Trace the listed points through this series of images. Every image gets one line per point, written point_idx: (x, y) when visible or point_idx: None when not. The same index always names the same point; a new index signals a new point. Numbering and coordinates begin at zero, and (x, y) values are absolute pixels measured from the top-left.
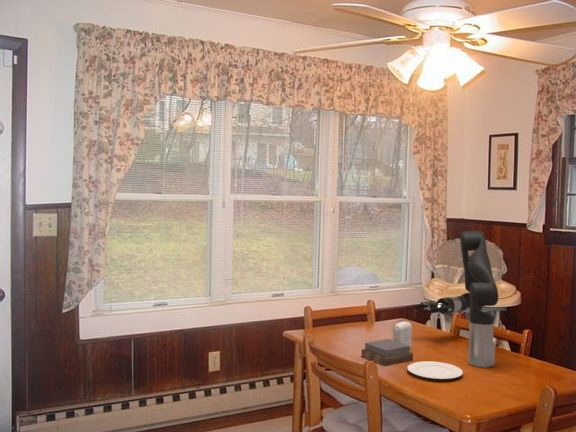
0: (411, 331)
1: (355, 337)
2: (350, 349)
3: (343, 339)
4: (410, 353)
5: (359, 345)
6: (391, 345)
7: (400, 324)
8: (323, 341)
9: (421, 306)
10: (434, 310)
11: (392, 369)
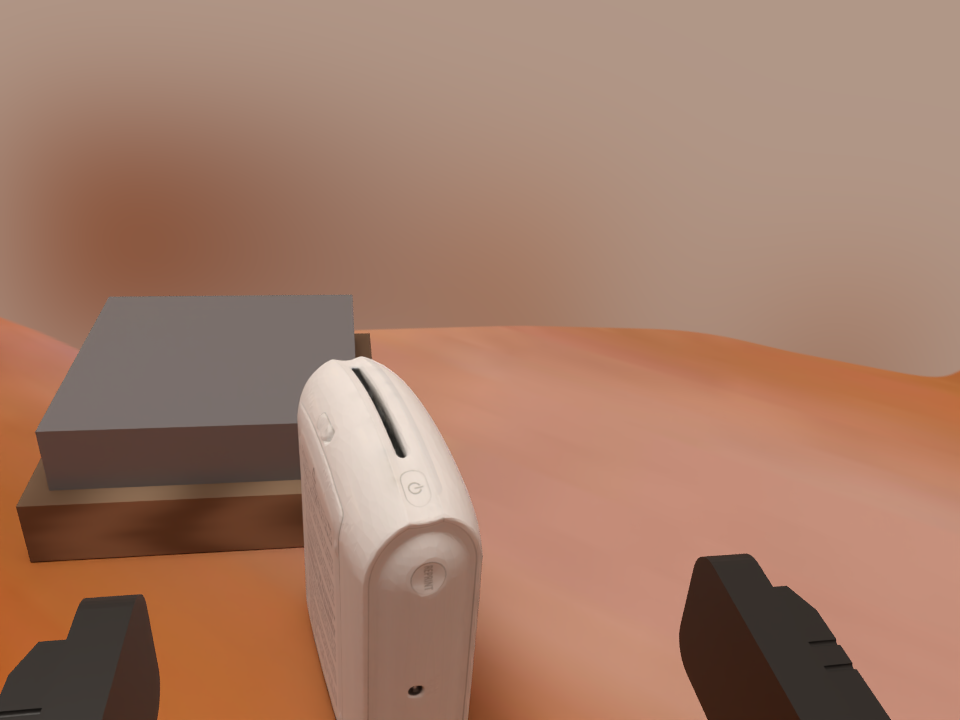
0: (357, 625)
1: (930, 545)
2: (554, 394)
3: (848, 457)
4: (33, 490)
5: (644, 467)
6: (171, 357)
7: (330, 373)
8: (791, 366)
9: (752, 713)
10: (17, 702)
11: (27, 382)
